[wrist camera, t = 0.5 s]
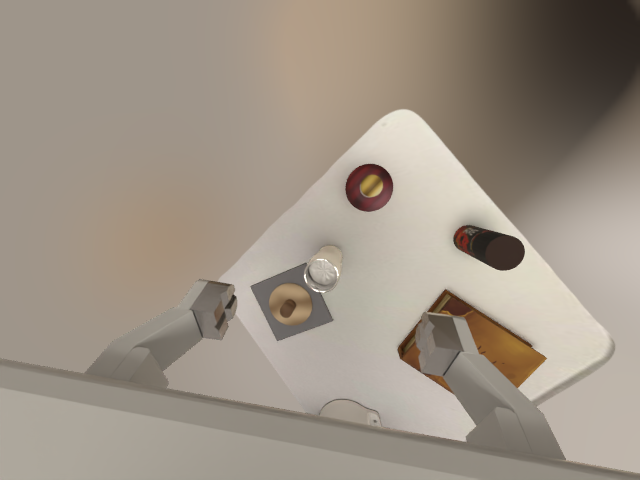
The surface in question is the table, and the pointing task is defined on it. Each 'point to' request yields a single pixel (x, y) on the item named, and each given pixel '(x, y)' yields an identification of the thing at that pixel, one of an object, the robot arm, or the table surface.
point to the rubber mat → (296, 276)
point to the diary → (480, 343)
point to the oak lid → (290, 304)
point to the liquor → (369, 187)
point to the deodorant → (490, 247)
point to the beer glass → (324, 269)
